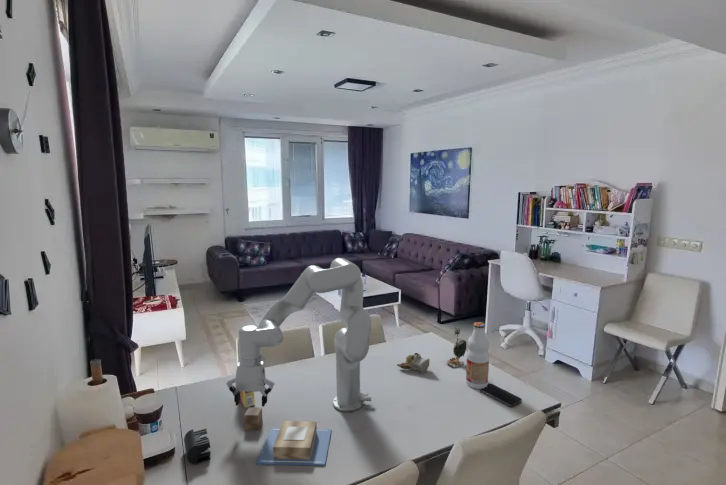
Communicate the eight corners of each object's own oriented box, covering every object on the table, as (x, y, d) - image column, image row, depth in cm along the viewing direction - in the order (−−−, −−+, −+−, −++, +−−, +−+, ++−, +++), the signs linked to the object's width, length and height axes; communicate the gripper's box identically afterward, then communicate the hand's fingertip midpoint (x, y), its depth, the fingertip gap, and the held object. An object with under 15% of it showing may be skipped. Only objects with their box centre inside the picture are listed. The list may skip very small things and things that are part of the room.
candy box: (255, 405, 161) (253, 369, 159) (244, 408, 159) (242, 372, 156) (248, 395, 168) (246, 361, 166) (238, 398, 166) (236, 364, 164)
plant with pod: (471, 364, 195) (472, 325, 192) (452, 369, 191) (453, 329, 188) (460, 358, 203) (462, 320, 200) (442, 362, 198) (443, 323, 195)
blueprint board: (331, 430, 144) (331, 429, 144) (324, 465, 127) (324, 463, 127) (271, 429, 145) (271, 427, 145) (256, 464, 127) (256, 462, 127)
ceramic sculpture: (424, 359, 181) (395, 353, 190) (424, 377, 182) (396, 371, 191) (434, 351, 190) (406, 346, 199) (434, 369, 191) (407, 362, 200)
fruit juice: (479, 391, 170) (482, 329, 166) (461, 383, 178) (463, 323, 173) (492, 384, 176) (495, 324, 172) (474, 376, 183) (476, 318, 179)
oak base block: (316, 433, 143) (316, 421, 142) (310, 461, 129) (309, 447, 128) (283, 433, 143) (283, 420, 142) (273, 460, 129) (273, 446, 129)
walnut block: (262, 422, 150) (261, 407, 149) (258, 430, 145) (257, 415, 144) (249, 422, 150) (248, 407, 149) (245, 430, 145) (244, 415, 144)
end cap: (184, 449, 135) (183, 431, 134) (207, 443, 138) (205, 425, 137) (187, 468, 126) (185, 448, 125) (211, 460, 130) (209, 441, 128)
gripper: (276, 356, 147) (276, 399, 149) (230, 354, 147) (231, 397, 150) (271, 365, 139) (271, 410, 142) (222, 363, 140) (223, 409, 142)
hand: (250, 404), depth 146 cm, fingers open, 9 cm apart
